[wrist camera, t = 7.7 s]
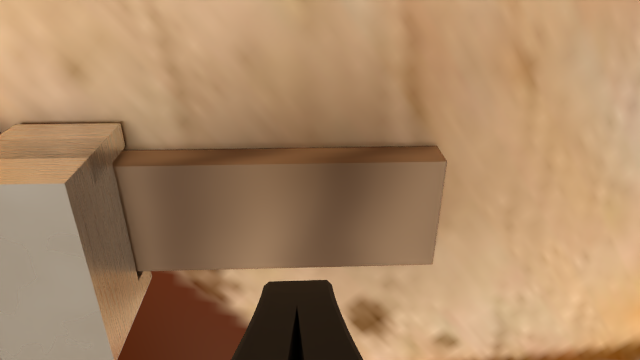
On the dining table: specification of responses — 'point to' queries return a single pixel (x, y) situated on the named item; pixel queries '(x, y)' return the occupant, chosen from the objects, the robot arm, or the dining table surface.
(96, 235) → the keeper
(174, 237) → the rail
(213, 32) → the dining table surface
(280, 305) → the robot arm
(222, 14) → the dining table surface
